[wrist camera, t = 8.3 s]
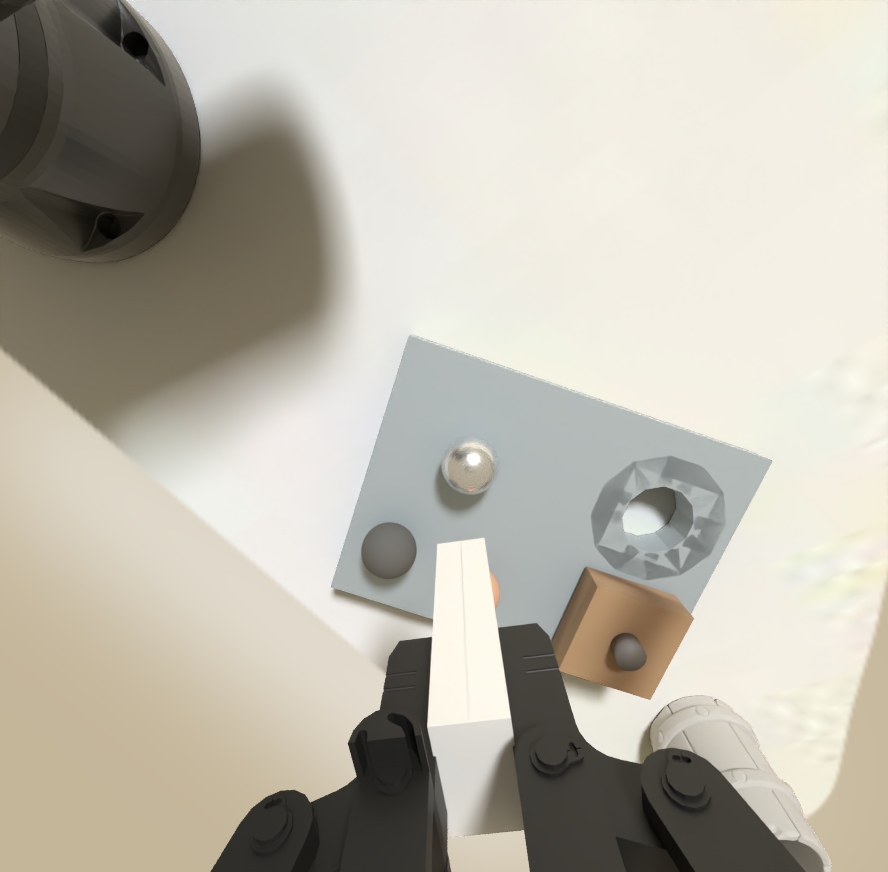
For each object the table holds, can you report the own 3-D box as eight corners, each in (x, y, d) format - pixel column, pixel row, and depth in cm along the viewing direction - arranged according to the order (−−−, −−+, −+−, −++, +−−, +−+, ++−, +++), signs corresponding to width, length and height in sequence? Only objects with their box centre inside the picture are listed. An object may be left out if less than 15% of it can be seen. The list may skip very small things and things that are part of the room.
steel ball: (435, 473, 30) (432, 492, 26) (452, 423, 29) (452, 436, 25) (486, 490, 30) (490, 511, 26) (505, 440, 29) (511, 456, 26)
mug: (734, 681, 35) (870, 855, 24) (757, 797, 38) (889, 1006, 26) (636, 703, 36) (721, 882, 24) (664, 815, 39) (753, 1027, 27)
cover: (550, 644, 32) (562, 685, 28) (586, 566, 30) (603, 598, 27) (635, 671, 32) (658, 715, 29) (675, 595, 31) (704, 631, 27)
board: (339, 568, 34) (330, 587, 32) (412, 334, 30) (408, 335, 28) (637, 663, 35) (651, 688, 33) (748, 450, 31) (772, 461, 29)
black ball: (360, 552, 31) (348, 580, 28) (375, 506, 30) (365, 529, 27) (409, 568, 31) (404, 597, 28) (425, 523, 30) (421, 547, 27)
